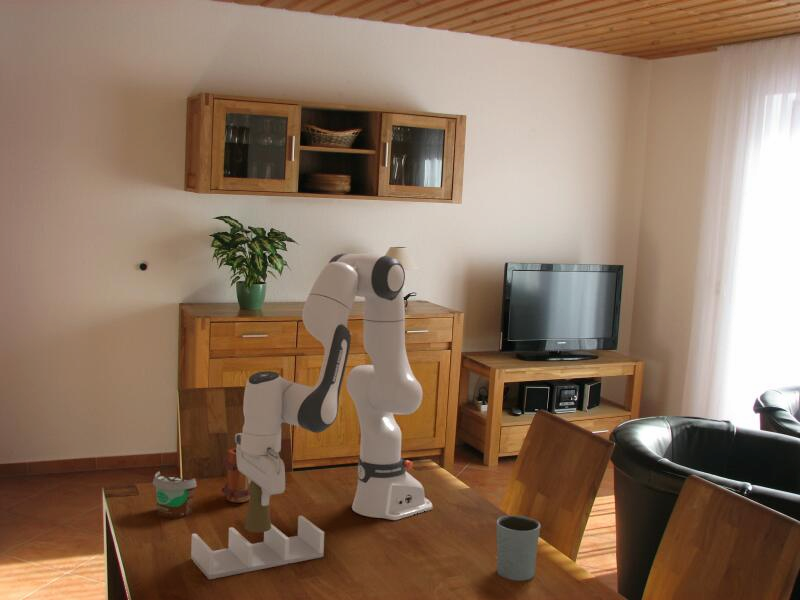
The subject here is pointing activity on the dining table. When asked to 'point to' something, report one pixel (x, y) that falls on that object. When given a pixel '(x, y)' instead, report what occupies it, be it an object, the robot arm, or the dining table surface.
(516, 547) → the grey cup
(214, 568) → the slot rack
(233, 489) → the mug
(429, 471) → the dining table surface
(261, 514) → the cork
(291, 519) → the dining table surface
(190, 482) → the food container
